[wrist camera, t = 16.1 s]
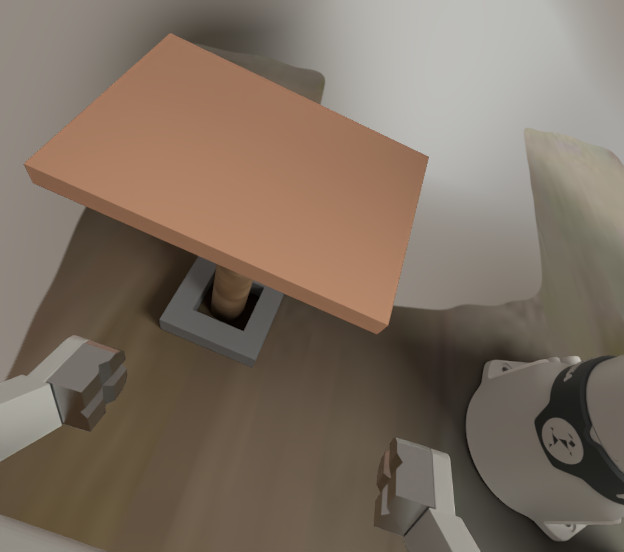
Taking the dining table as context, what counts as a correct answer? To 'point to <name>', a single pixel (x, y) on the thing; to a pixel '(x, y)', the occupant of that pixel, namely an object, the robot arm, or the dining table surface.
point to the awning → (243, 190)
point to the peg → (229, 294)
